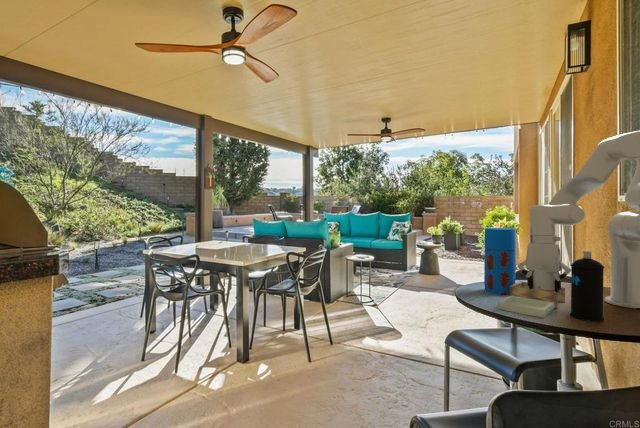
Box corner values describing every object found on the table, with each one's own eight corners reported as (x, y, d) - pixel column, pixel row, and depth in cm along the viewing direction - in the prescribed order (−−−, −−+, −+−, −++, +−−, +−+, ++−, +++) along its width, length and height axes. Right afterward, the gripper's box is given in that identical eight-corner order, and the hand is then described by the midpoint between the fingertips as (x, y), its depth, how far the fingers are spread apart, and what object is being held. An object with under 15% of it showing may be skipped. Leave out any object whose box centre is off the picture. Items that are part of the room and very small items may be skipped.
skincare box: (536, 300, 120) (536, 266, 120) (532, 297, 125) (531, 264, 124) (556, 301, 119) (555, 266, 119) (551, 297, 123) (550, 264, 123)
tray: (554, 309, 112) (554, 302, 112) (544, 318, 104) (544, 310, 104) (510, 301, 122) (510, 295, 122) (498, 309, 113) (498, 302, 113)
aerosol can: (604, 317, 105) (605, 251, 104) (603, 323, 99) (604, 254, 98) (571, 311, 110) (572, 249, 110) (568, 317, 104) (568, 251, 104)
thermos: (519, 296, 129) (520, 229, 129) (488, 295, 131) (489, 229, 131) (509, 289, 140) (510, 227, 139) (481, 288, 142) (481, 227, 141)
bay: (565, 301, 122) (565, 287, 122) (557, 308, 114) (557, 293, 113) (519, 294, 132) (519, 281, 132) (509, 300, 124) (509, 286, 124)
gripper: (575, 239, 118) (576, 291, 118) (518, 238, 130) (519, 284, 131) (570, 241, 113) (571, 296, 113) (512, 239, 125) (513, 288, 125)
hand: (543, 289), depth 122 cm, fingers closed on skincare box, 7 cm apart
